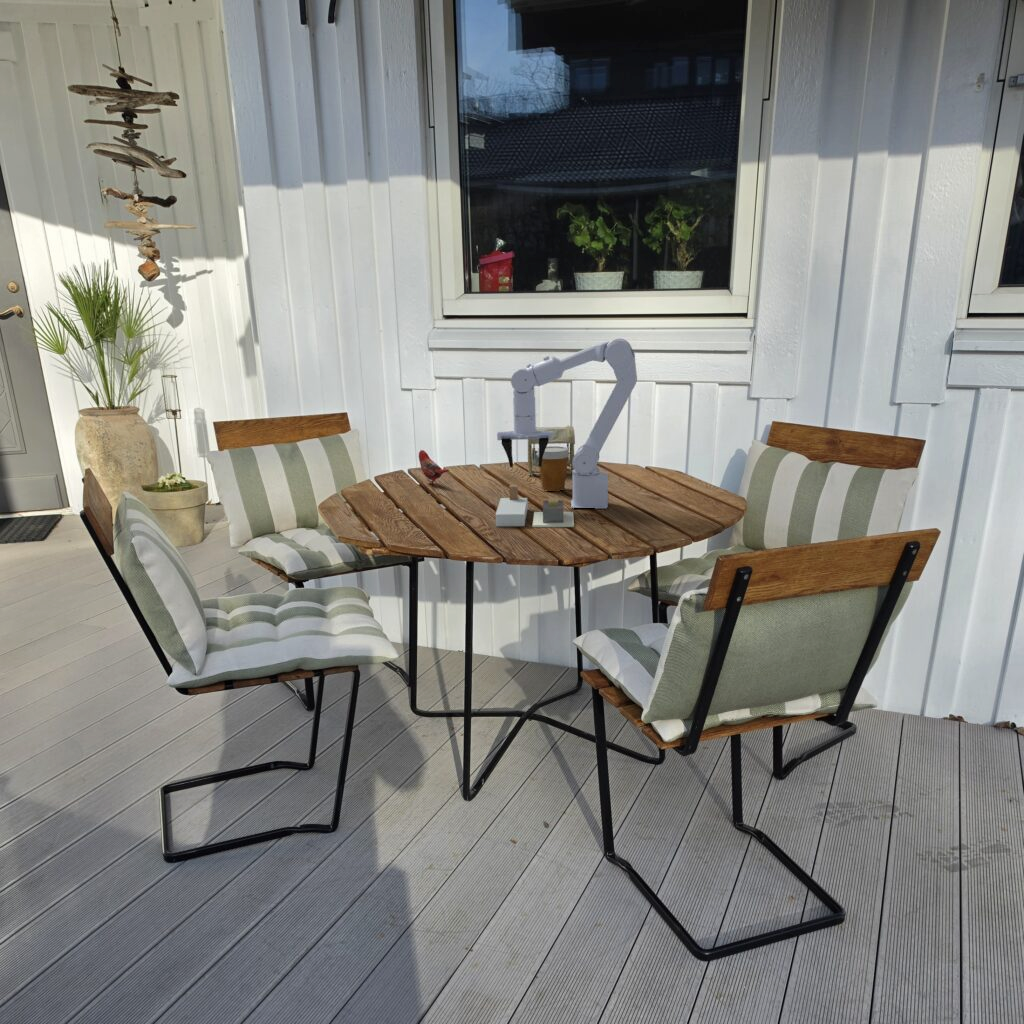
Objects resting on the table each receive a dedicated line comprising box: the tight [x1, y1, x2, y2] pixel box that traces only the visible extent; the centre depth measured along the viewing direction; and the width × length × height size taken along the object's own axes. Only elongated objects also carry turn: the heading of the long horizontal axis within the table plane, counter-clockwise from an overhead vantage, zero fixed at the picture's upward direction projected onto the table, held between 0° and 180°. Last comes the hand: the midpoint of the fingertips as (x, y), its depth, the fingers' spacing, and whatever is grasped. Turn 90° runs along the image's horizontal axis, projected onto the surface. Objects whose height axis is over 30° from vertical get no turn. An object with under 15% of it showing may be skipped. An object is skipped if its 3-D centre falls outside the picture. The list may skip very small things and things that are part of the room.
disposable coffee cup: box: [536, 445, 570, 491], centre depth 216 cm, size 10×10×12 cm
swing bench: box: [527, 425, 576, 475], centre depth 238 cm, size 15×10×15 cm, turn 91°
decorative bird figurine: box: [418, 449, 450, 485], centre depth 226 cm, size 3×18×10 cm, turn 37°
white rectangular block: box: [495, 484, 529, 527], centre depth 189 cm, size 7×16×6 cm, turn 176°
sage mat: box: [531, 511, 575, 528], centre depth 187 cm, size 10×12×1 cm
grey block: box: [542, 496, 565, 523], centre depth 186 cm, size 5×8×4 cm, turn 176°
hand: (525, 466), depth 200 cm, fingers open, 7 cm apart
